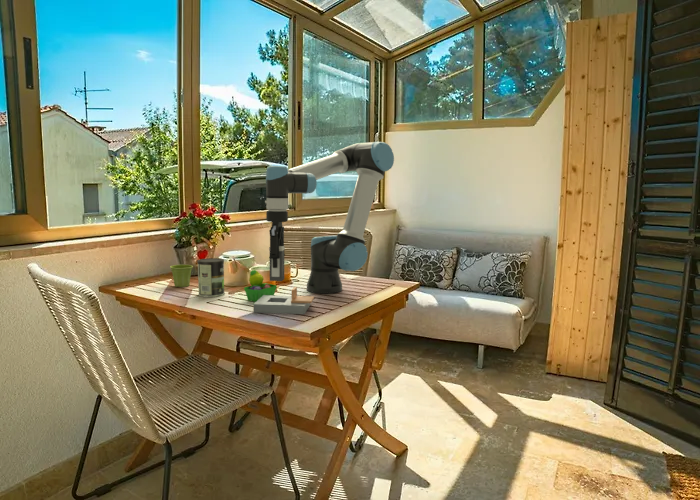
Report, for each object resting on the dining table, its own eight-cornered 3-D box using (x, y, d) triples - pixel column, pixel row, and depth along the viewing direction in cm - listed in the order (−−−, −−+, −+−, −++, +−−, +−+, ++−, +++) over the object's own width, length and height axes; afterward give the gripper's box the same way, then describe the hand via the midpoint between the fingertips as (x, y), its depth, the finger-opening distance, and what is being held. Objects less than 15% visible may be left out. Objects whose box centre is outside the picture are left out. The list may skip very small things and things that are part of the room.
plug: (272, 278, 182) (272, 245, 180) (284, 278, 181) (284, 246, 180) (269, 280, 177) (269, 247, 176) (282, 281, 177) (282, 247, 175)
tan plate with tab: (294, 297, 184) (294, 286, 183) (314, 298, 183) (314, 286, 182) (290, 302, 176) (290, 290, 176) (311, 303, 176) (311, 291, 175)
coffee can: (225, 291, 207) (224, 257, 205) (224, 296, 197) (223, 261, 195) (199, 292, 205) (198, 258, 203) (197, 297, 195) (196, 262, 193)
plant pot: (189, 282, 222) (188, 263, 221) (196, 286, 215) (196, 266, 214) (167, 285, 217) (167, 265, 216) (175, 289, 209) (174, 268, 208)
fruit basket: (257, 303, 187) (256, 274, 186) (240, 300, 192) (240, 271, 191) (278, 298, 196) (277, 269, 195) (261, 294, 202) (261, 267, 200)
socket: (263, 302, 188) (263, 295, 188) (310, 304, 187) (310, 296, 187) (253, 312, 174) (253, 304, 174) (304, 314, 173) (304, 305, 173)
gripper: (272, 208, 185) (272, 270, 188) (260, 211, 168) (260, 279, 171) (292, 209, 184) (292, 271, 187) (282, 211, 167) (282, 280, 170)
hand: (277, 275), depth 179 cm, fingers closed on plug, 4 cm apart
